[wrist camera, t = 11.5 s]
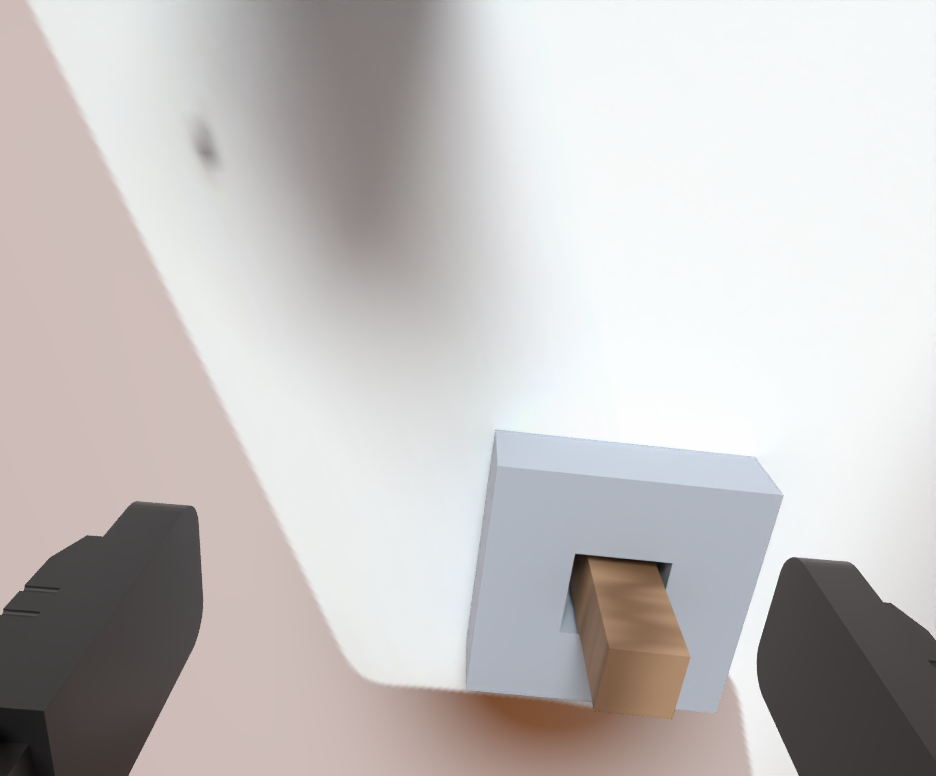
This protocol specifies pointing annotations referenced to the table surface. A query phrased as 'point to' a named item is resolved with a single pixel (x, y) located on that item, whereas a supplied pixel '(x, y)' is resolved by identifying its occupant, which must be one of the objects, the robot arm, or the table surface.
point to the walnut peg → (628, 636)
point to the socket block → (612, 555)
